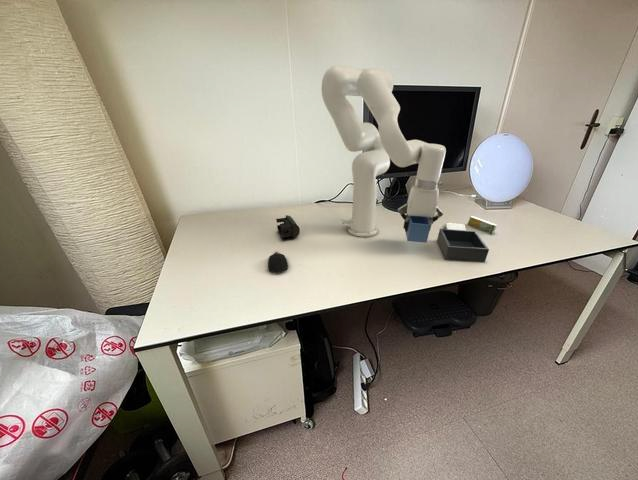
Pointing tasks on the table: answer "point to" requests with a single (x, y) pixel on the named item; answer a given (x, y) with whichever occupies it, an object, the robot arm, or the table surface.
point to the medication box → (482, 225)
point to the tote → (462, 245)
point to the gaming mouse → (277, 263)
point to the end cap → (288, 228)
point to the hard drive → (455, 226)
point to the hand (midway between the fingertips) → (416, 230)
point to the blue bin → (418, 229)
